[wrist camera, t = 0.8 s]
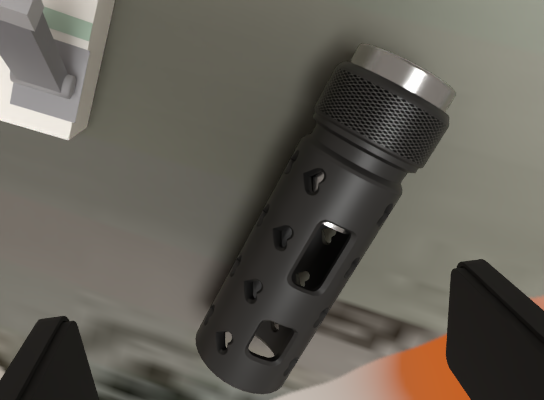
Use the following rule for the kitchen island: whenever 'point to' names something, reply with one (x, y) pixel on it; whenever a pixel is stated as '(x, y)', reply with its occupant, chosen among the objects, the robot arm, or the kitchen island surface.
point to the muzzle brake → (323, 214)
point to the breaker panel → (78, 62)
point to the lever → (32, 49)
